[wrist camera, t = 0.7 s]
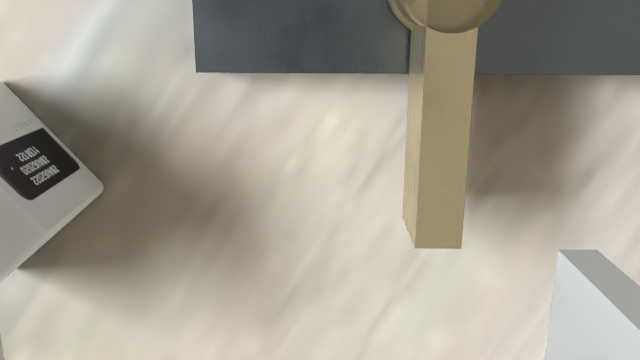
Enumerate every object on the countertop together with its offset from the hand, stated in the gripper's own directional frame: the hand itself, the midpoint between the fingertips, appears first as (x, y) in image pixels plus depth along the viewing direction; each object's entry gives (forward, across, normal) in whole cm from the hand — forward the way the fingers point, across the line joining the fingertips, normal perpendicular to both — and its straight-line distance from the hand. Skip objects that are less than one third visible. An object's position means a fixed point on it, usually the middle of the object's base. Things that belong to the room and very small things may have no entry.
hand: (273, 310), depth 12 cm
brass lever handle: (+17, +6, +3) cm, 19 cm away
